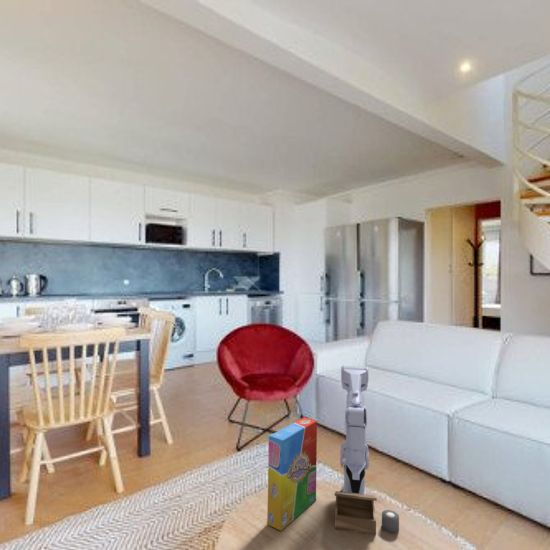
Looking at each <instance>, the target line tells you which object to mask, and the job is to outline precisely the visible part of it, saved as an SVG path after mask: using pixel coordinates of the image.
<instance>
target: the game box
mask: <svg viewBox="0 0 550 550" xmlns="http://www.w3.org/2000/svg"><path fill="white" fill-rule="evenodd" d="M317 423H318V421H317V420H314V419H312V418H309V417H302V418H300V419H299V420H297V421H295V422H292V423H291V424H290V425H287V426H286V427H284V428H281V429H280V430H277V431H276V432H274V433H272V434H269V435H268V462H267V463H268V466H267V467H268V468H267V469H268V470H267V471H268V475H267V479H268V480H267V481H268V482H267V511H266V512H267V518H266V524H267V525H268V526H269V527H271V528H274V529H276V530H278V531H283V530H284V529H285V528H286V527H287V526H289V524H291V523H292V522H293V521H295V519H296V518H297V517H299V516H300V515H301V514H302V513H304V511H305V510H306V509H308V508H309V507H310V506H311V505H312V504H314V503H315V502H316V501H317V458H318V456H317V454H318V453H317V452H318V451H317V448H318V447H317V446H318V445H317V443H318V440H317V439H318V424H317Z"/></svg>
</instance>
